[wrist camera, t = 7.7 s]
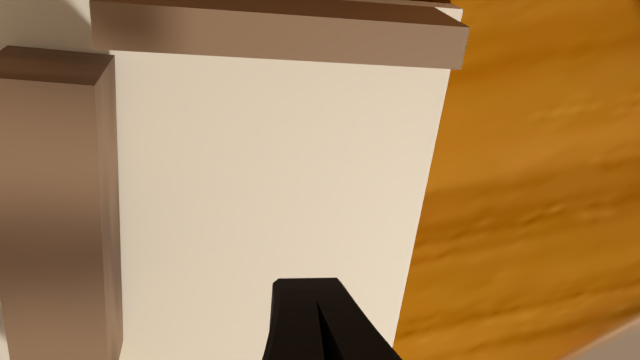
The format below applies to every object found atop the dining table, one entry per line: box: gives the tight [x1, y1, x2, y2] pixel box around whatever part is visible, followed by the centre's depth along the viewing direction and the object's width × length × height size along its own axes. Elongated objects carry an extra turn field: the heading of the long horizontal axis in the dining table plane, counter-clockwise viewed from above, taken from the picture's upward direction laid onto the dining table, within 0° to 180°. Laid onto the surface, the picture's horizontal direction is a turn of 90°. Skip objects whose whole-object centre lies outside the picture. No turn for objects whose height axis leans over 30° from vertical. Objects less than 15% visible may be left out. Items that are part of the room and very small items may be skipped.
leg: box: [0, 45, 123, 360], centre depth 18 cm, size 12×3×3 cm, turn 172°
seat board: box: [0, 0, 470, 360], centre depth 19 cm, size 18×18×4 cm
